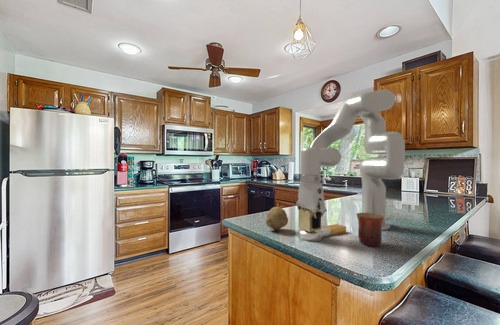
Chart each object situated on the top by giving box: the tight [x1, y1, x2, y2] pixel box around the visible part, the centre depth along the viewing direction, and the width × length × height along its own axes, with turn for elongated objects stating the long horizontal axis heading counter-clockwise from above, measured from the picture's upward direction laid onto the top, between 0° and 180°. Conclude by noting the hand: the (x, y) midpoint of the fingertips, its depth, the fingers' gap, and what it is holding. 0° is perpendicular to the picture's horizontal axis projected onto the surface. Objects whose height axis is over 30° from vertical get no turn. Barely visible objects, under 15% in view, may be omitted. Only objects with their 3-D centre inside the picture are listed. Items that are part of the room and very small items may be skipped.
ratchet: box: [297, 223, 347, 242], centre depth 89 cm, size 22×9×6 cm, turn 118°
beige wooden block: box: [298, 209, 322, 232], centre depth 85 cm, size 6×6×7 cm
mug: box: [356, 212, 384, 248], centre depth 78 cm, size 12×9×10 cm
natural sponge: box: [265, 206, 289, 231], centre depth 94 cm, size 9×9×10 cm
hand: (309, 225), depth 86 cm, fingers closed on beige wooden block, 6 cm apart
